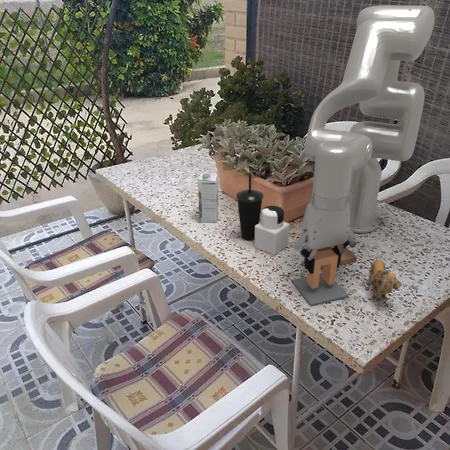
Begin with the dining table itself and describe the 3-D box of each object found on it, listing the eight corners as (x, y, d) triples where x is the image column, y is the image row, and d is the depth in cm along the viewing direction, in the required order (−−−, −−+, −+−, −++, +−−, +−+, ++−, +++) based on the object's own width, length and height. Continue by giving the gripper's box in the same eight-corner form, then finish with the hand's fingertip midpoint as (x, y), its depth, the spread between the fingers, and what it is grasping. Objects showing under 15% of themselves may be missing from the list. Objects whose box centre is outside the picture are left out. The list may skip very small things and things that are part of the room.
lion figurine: (398, 310, 95) (406, 278, 91) (375, 311, 95) (381, 279, 91) (378, 272, 108) (384, 242, 104) (357, 272, 108) (362, 243, 104)
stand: (336, 243, 121) (341, 205, 115) (368, 273, 108) (375, 233, 102) (298, 251, 117) (301, 213, 111) (327, 283, 105) (332, 242, 99)
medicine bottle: (268, 237, 124) (269, 200, 118) (288, 245, 120) (291, 207, 114) (253, 247, 120) (254, 210, 114) (274, 256, 116) (276, 217, 110)
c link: (328, 276, 104) (331, 249, 100) (334, 283, 101) (338, 255, 97) (306, 281, 102) (308, 253, 98) (312, 288, 99) (315, 260, 96)
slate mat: (326, 273, 108) (327, 271, 108) (348, 297, 100) (348, 295, 99) (291, 281, 105) (291, 279, 105) (310, 306, 97) (311, 304, 97)
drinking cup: (247, 246, 120) (247, 181, 110) (231, 235, 125) (230, 173, 116) (267, 237, 124) (269, 174, 114) (251, 227, 129) (251, 166, 120)
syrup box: (200, 214, 138) (198, 173, 131) (218, 214, 137) (217, 173, 130) (199, 222, 133) (196, 180, 126) (218, 222, 132) (216, 180, 125)
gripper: (354, 186, 96) (345, 252, 105) (285, 198, 91) (281, 266, 100) (374, 200, 90) (362, 269, 99) (301, 213, 85) (296, 284, 94)
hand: (321, 267), depth 99 cm, fingers closed on c link, 6 cm apart
